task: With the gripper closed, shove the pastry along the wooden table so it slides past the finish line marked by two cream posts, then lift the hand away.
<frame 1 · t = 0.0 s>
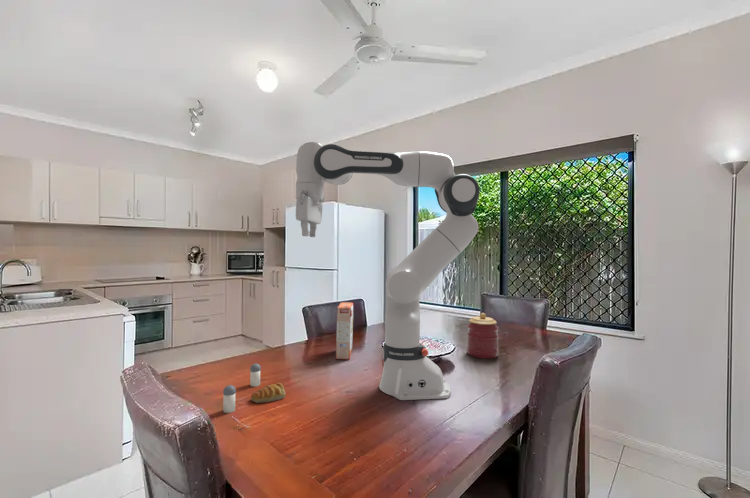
hand: (309, 236, 116), 48 cm above the table, tool pointing down, fingers open, 8 cm apart
finish posts: (243, 396, 106), on the table
pastry: (269, 399, 105), on the table
canister: (482, 354, 152), on the table
cracker box: (344, 355, 148), on the table
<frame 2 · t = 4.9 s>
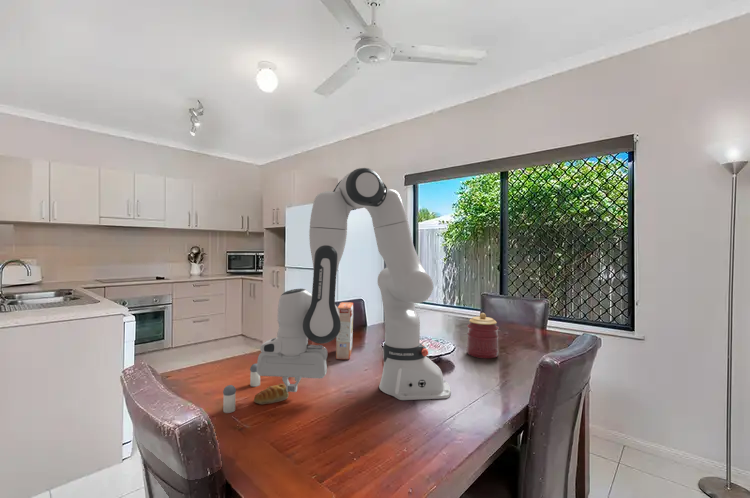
hand: (291, 391, 105), 2 cm above the table, tool pointing down, fingers closed
pastry: (272, 400, 105), on the table, touching gripper
everything else where it was.
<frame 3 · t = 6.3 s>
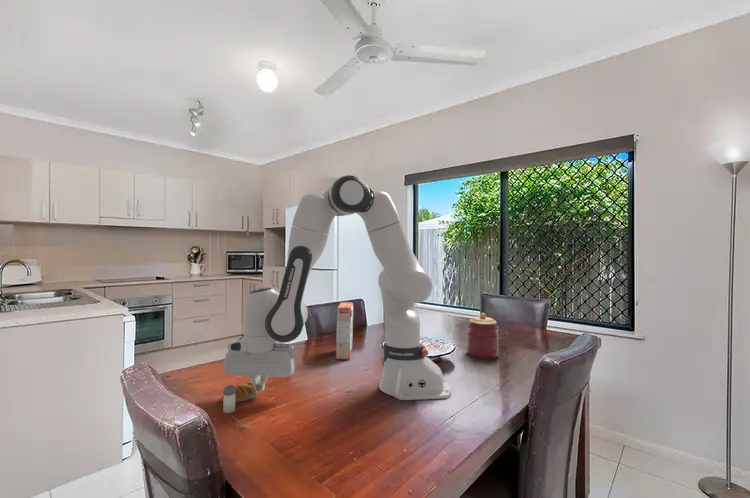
hand: (259, 389, 106), 2 cm above the table, tool pointing down, fingers closed
pastry: (241, 398, 105), on the table, touching gripper
everything else where it was.
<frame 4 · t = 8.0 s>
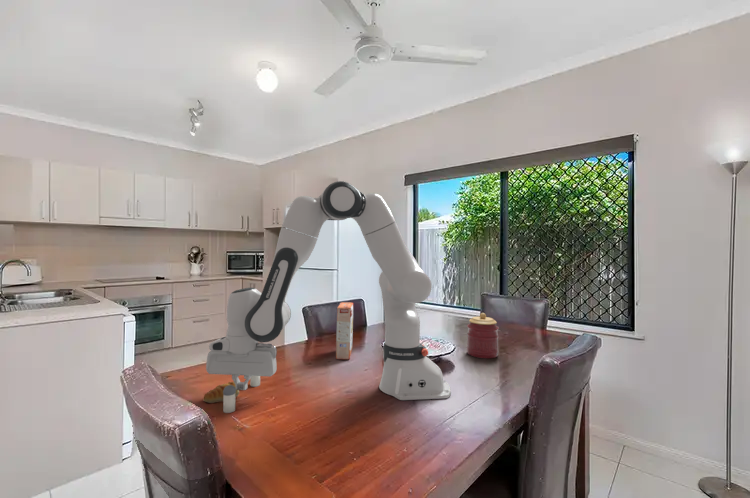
hand: (241, 389, 106), 2 cm above the table, tool pointing down, fingers closed
pastry: (222, 398, 105), on the table
everything else where it was.
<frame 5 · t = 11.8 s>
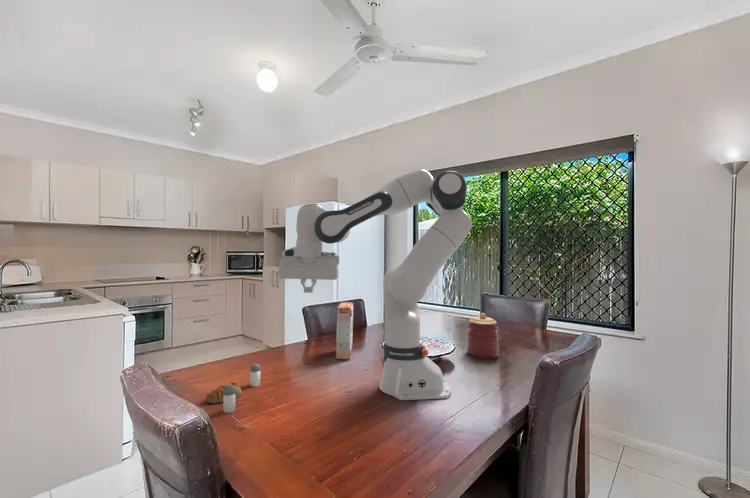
hand: (308, 292, 122), 29 cm above the table, tool pointing down, fingers closed
nothing on the table moved.
at the end: pastry inside the target area (4.1 cm from its centre), on the table; pastry tilted 0° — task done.
